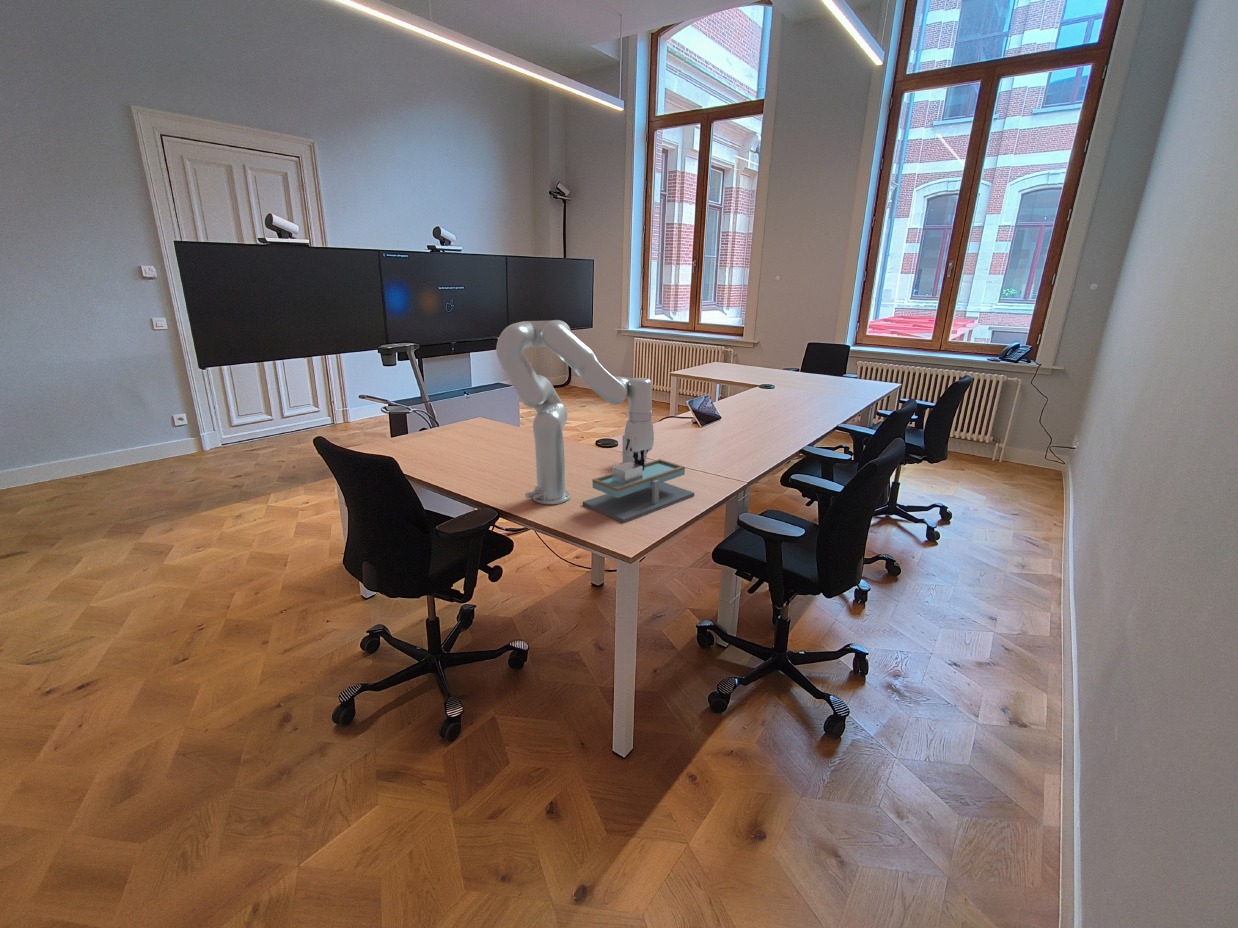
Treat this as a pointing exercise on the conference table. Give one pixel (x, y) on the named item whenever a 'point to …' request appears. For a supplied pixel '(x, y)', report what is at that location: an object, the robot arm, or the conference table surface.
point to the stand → (638, 501)
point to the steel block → (626, 473)
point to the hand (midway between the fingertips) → (639, 469)
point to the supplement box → (629, 458)
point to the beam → (650, 473)
